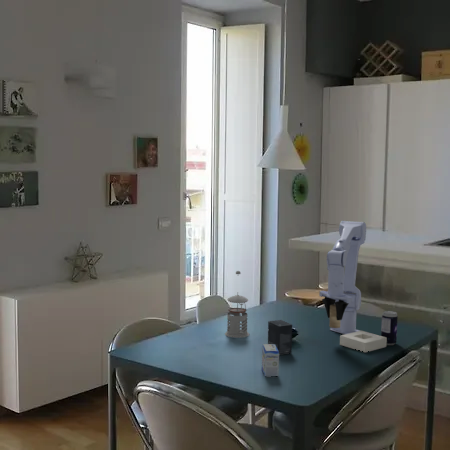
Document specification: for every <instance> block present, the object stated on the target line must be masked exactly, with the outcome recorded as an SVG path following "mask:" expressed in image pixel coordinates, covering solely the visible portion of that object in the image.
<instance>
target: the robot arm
mask: <svg viewBox="0 0 450 450" xmlns="http://www.w3.org/2000/svg"><path fill="white" fill-rule="evenodd" d="M338 227H339V228H338V232H339V235H340V237H339V239H337V240H336V241H335V243H334V244H333V247H332V248H331V250H329V251H328V252H327V254H326V266H327V268H326V269H327V271H328V273H327V274H328V275H327V276H328V277H327V279H328V280H327V291H326V290H319V294H318V295H319V297H320V298H322V297H323V298H322V299H321V302H322V304H323V306H324V308H325V311H326V315H327V316H326V317H327V319H330V305H332V304H335V306H336V317H337V320H340V328H331V327H330V328H329V330H330V331H333V332H335V333H340V334H342V335H345V334H349V333H353V332H358V331H361V330H359V329H357V328H356V327H357V311H359V309H360V308H361V305H362V291H361V290H360V289H359V288H358V287H357V286H356V278H357V268H358V263H359V252H360V248H361V245H364V244H365V241H366V237H367V236H366V235H367V224H366V222H365V221H349V220H348V221H347V220H341V221H340V223H339V226H338Z"/></svg>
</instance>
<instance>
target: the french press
mask: <svg viewBox="0 0 450 450" xmlns="http://www.w3.org/2000/svg"><path fill="white" fill-rule="evenodd" d="M241 274H242V273H241V271H239V270H236V271H235V275H241ZM226 300H227V301H228V302H229V303H233V304H237V307H230V308H228V312H227V320H226V321H227V325H226V326H227V327H226V330H227V331H226V332H225V333H224V335H225V336H226V337H229V338H237V339H239V338H240V339H242V338H247V337H249V336H250V333H249V332H248V313H247V311H248V309H247V307H246V303H247V302H248V301H249V299H248V298H247V297H245V296H243V295H239V293H237V294H236V295H235V294H234V295H232V296H229V297H228V298H227V299H226ZM239 305H240V307H239ZM243 305H244V307H243Z"/></svg>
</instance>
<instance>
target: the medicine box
mask: <svg viewBox="0 0 450 450" xmlns="http://www.w3.org/2000/svg"><path fill="white" fill-rule="evenodd" d="M261 351H262V353H261V355H262V356H261V370H262V374H263V375H264V377H265V376H267V377H266V378H272V377H271V376H278V377H279V368H280V364H279V363H280V355H279V351H278V349H277V347H276V345H275V344H268V343H264V344H262V348H261Z"/></svg>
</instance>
